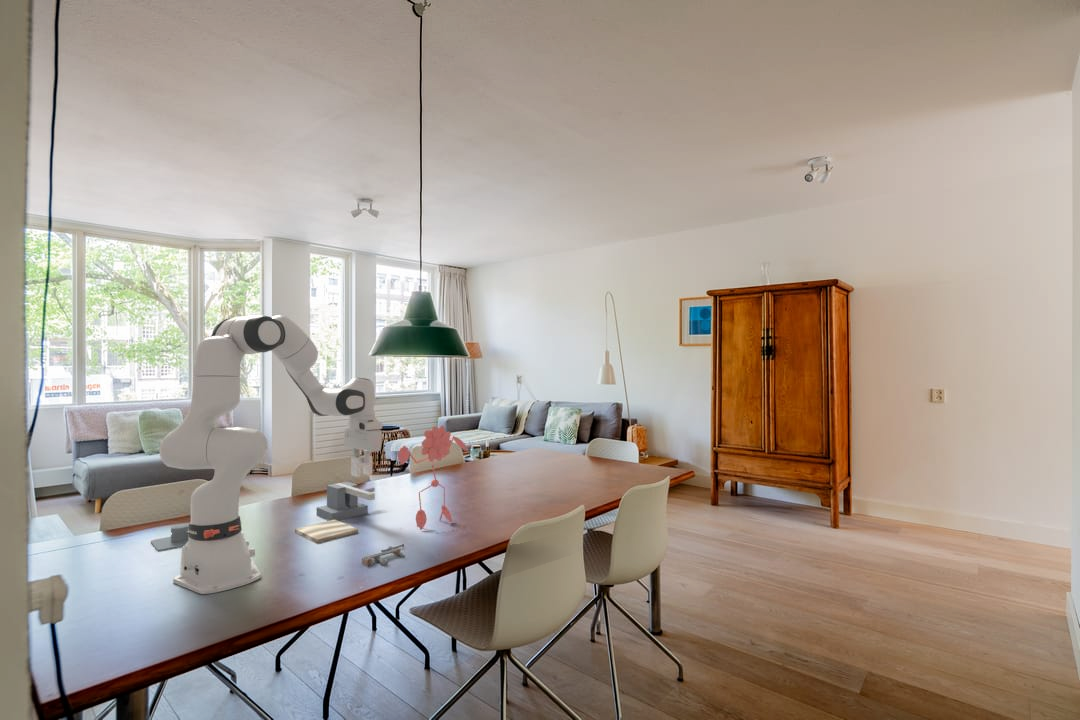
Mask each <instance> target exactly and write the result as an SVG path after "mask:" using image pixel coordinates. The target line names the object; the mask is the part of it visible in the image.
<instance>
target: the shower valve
mask: <svg viewBox="0 0 1080 720" xmlns="http://www.w3.org/2000/svg"><path fill="white" fill-rule="evenodd" d="M189 523H190V522H186V523H181V524H177V525H173V526H171V528H170V533H171V534H170V536H166V537H161V538H157V539H152V540H150V544H151V545H152V546H153V548H154V547H155V548H154V549H155V550H156V551H157V552H163V551H169V550H173V548H174V549H178V547H179V548H183V546H185V544H186V543H187V542H188V540H189V538H190V537H189V536H188V527H189Z"/></svg>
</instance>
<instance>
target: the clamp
mask: <svg viewBox="0 0 1080 720" xmlns="http://www.w3.org/2000/svg"><path fill="white" fill-rule="evenodd" d="M404 547H405V544H404V543H402V544H400V545H397V546H390V545H389V546H388V547H387V548H386V549H381V551H380V552H378V553H374V554H371V555H366V556H363V557H362V559H361V564H362V565H363V566H364V567H369V566H373V564H374V563H377V562H379V564H380V565H381V566H386V565H388V564H389V561H388V559H392V558H395V557H399V556H400V557H402V558H405V557H406V555H405V554H404V553H403V552H401V551H402V549H401V548H404ZM393 553H394V554H393ZM389 554H391V555H389ZM385 555H388V556H385ZM382 556H385V557H382Z"/></svg>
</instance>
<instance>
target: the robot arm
mask: <svg viewBox="0 0 1080 720" xmlns="http://www.w3.org/2000/svg"><path fill="white" fill-rule="evenodd" d="M268 352H272V353H273V354H274V356H275V357H276V358H277V359H278V360H279V361H280V362H281V364H282V365H283V366H284V367H285V370H286V372H287V374H288V376H290V378H291V379H292V381H293V382H294V383H295V385H296V386H297V388H298V389H299V390H300V391H301V392H302V394H303V395H304V397H305V399H306V401H307V403H308V407H310V408H309V409H310V410H311V412H312V413H313V414H315V415H317V416H319V417H325V416H335V417H337V416H338V417H347V416H348V423H347V424H346V427H345V429H344V433H343V446H344V448H348V449H352V452H353V453H352V454H353V457H356V456H361V454H360V451H363V456H364V458H362V460H363V461H362V462H363V463H369V457H370V456H372V453H374V452H380V451H381V449H382V445H383V444H382V441H383V440H382V439H383V435H382V431H381V430H382V429H383V423H382V422H381V421H379V420H378V419H377V417H376V412H375V410H374V409H375V404H376V390H375V385H374V382H373V380H371V379H368V378H365V377H353V378H351V379H350V381H349V382H348V383H346V384H344V385H342V386H340V387H329V386H325V385H323V384H321V383H320V381H319V380H318V379H317V377H316V375H314V373H313V372H312V370H311V368H313V366H314V365H315V364H316V362H317V360H318V357H319V351H318V348H317V346H316V344H315V343H314V342H313V340H312V339H311V338H310V336H308V334H307V333H305V331H304V330H303V329H302V328H301V327H300V326H299V325H297V323H295V322H294V321H293V320H291V319H290V318H289V316H285V315H283V314H278V315H273V316H268V315H263V314H262V315H261V314H257V315H239V316H234V317H230V318H225V319H224V320H221V321H220V322H218V323H217V324H216V325H215V327H214V328H213V331H212V333H211V335H210V336H209V337H206V338H203V339H202V340H201V341H200V342H199V344H198V346H197V350H196V353H195V358H194V364H193V374H192V375H193V377H192V390H191V391H192V393H191V401H190V405H189V409H188V412H187V414H186V415H185V416H184V419H183V420H182V421H181V422H180V424H179V425H178V426H176V428H174V429H173V430H171V431H170V432H168V433H167V434H165V436H164V438H163V439H162V440H161V442H160V445H159V451H158V453H159V456H160V460H161V461H162V463H163V464H164V465H165V466H166V467H169V468H173V469H180V470H208V469H209V470H210V469H213V470H214V473H213V474H214V475H213V477H212V479H211V480H208V481H206V482H204V483H203V484H201V485H199V486H197V487H196V488H195V489H194V490H193V491H192V493H191V496H190V522H188V523H189V527H188V531H187V532H188V536H189V537H190V538H189V540H188V542H187V543H186V544H185V546H184V547H181V555H180V556H181V557H180V573H179V574H178V575H176V576H174V577H173V581H172V582H173V584H176V585H178V586H180V587H183V588H185V589H188V590H190V591H192V592H195V593H198V594H201V595H207V594H209V595H210V594H216V593H219V592H224V591H228V590H232V589H235V588H239V587H242V586H245V585H249V584H250V583H252V582H255V581H258V580H259V579H261V578H262V575H261V572H260V570H259V568H258V567H257V565H256V563H255V561H254V560H253V558H254V557H255V556H256V548H254V547H251V548H249V546H250V540H246V538H245V537H244V536H245V534H244V533H243V532H242V530H243V529H242V521H241V516H240V515H239V503H240V494H241V493H240V492H241V488H242V484H243V483H244V480H245V478H246V477H247V475H248V474H249V472H251V471H252V470H253V469H254V468H255V467H256V466H257V465H259V464H260V463H261V462H262V461H263V460H264V459H265V457H266V455H267V453H268V447H269V445H268V440H267V437H266V435H265V434H264V432H263V431H261V430H260V429H256V428H249V427H242V426H241V427H240V426H239V427H217V424H218V421H219V419H220V418H221V417H222V416H224V415H226V414H229V413H230V412H232V411H234V410H235V409H236V408H237V407H238V406H239V404H240V401H241V363H242V360H243V358H244V357H245V355H253V354H254V355H255V354H259V353H260V354H261V353H268Z"/></svg>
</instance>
